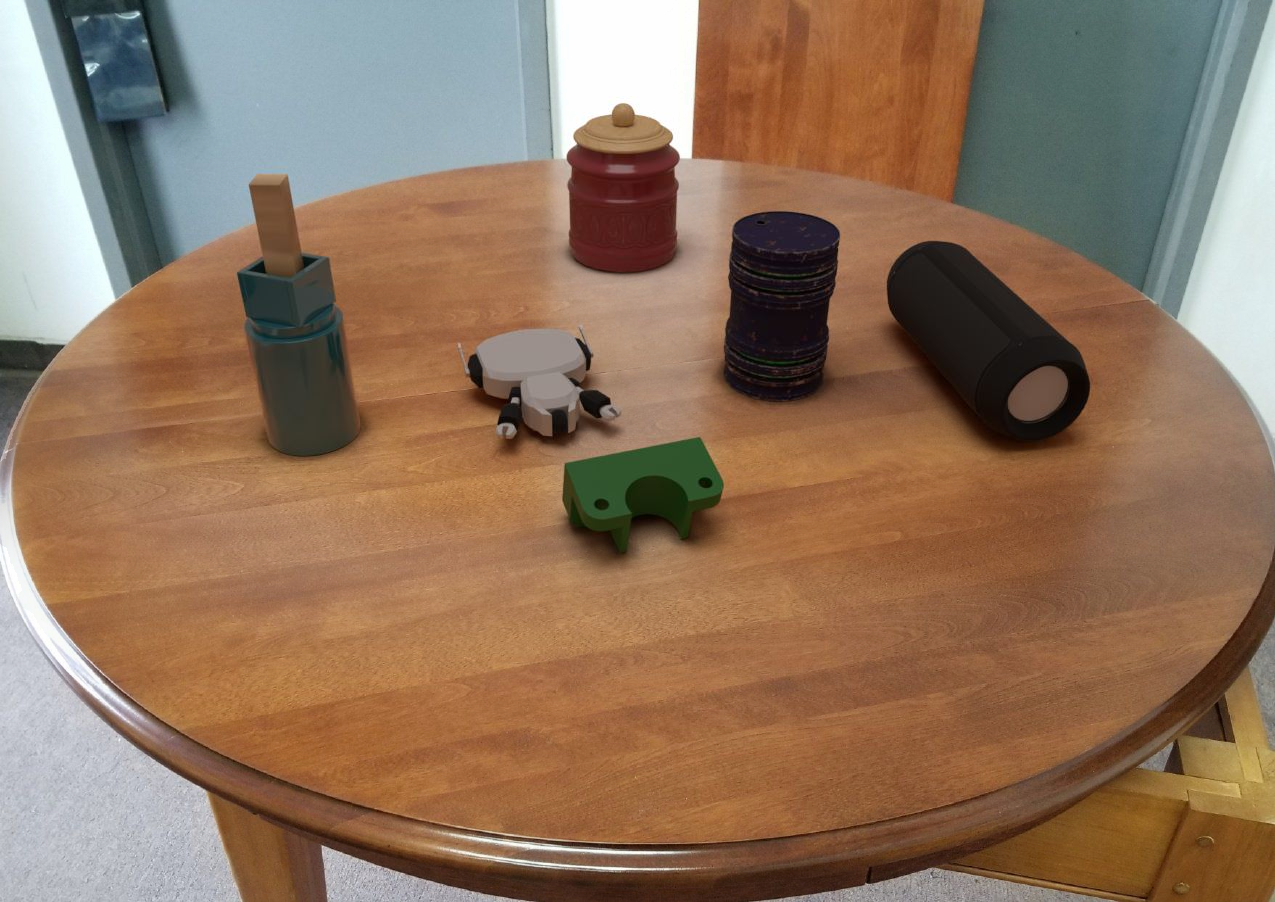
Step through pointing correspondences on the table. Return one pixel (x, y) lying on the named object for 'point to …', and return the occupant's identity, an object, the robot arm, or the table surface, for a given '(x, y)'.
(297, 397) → the bottle
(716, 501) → the clamp
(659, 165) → the kitchen canister
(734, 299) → the dark blue cylinder
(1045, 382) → the portable speaker
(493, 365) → the robot toy
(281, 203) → the stick
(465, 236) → the table surface
